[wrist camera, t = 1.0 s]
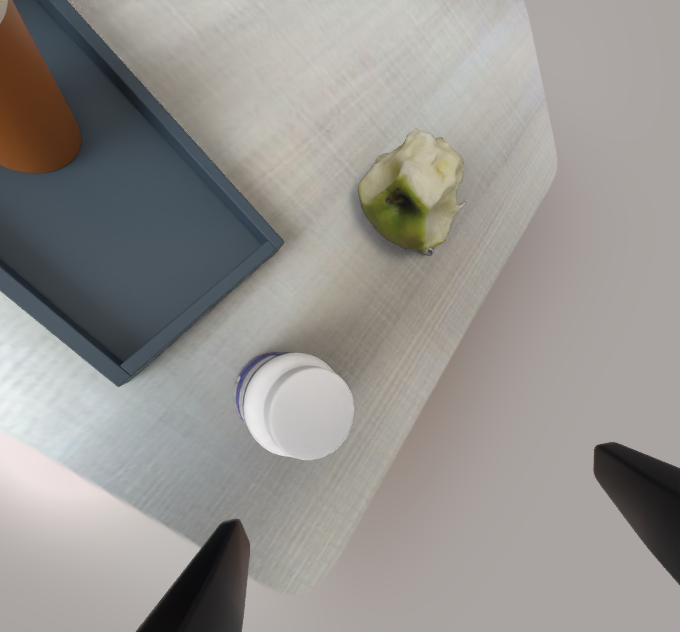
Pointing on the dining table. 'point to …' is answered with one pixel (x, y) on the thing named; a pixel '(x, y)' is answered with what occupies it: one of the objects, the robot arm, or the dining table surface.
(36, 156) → the amber bottle middle
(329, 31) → the dining table surface
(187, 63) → the dining table surface
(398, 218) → the fruit
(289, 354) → the pill bottle
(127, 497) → the dining table surface
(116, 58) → the tray
